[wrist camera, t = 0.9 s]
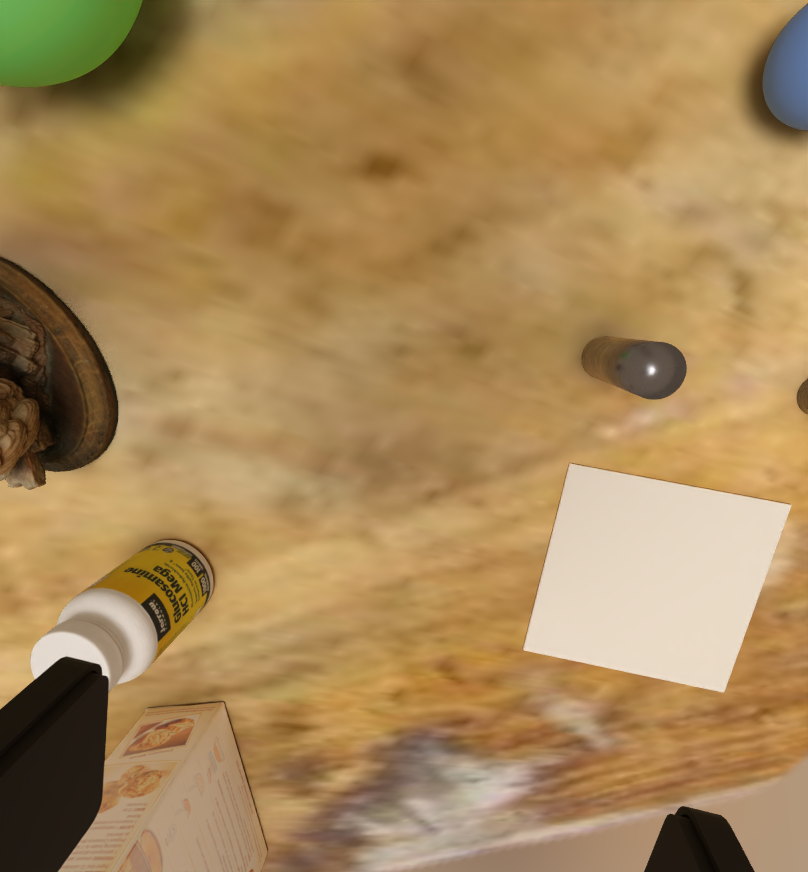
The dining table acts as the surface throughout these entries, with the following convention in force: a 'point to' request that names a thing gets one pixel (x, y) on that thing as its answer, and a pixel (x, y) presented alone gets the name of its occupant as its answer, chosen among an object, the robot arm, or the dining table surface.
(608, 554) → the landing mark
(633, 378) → the post
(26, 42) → the green teapot
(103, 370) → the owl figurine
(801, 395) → the post
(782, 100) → the ball
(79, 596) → the pill bottle
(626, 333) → the dining table surface
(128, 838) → the coffeecake box
